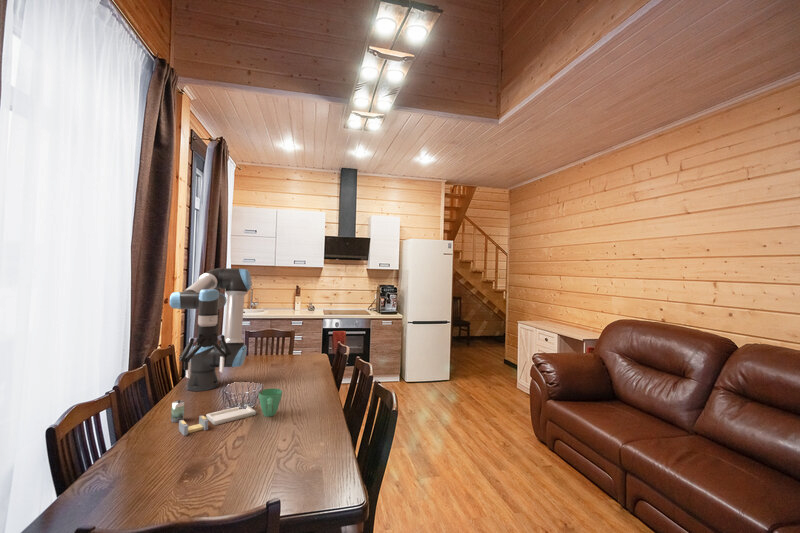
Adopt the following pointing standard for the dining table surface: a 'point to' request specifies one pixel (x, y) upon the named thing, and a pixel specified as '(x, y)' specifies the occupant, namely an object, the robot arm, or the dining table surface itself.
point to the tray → (229, 415)
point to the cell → (177, 411)
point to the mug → (270, 401)
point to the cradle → (185, 429)
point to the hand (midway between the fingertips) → (205, 374)
